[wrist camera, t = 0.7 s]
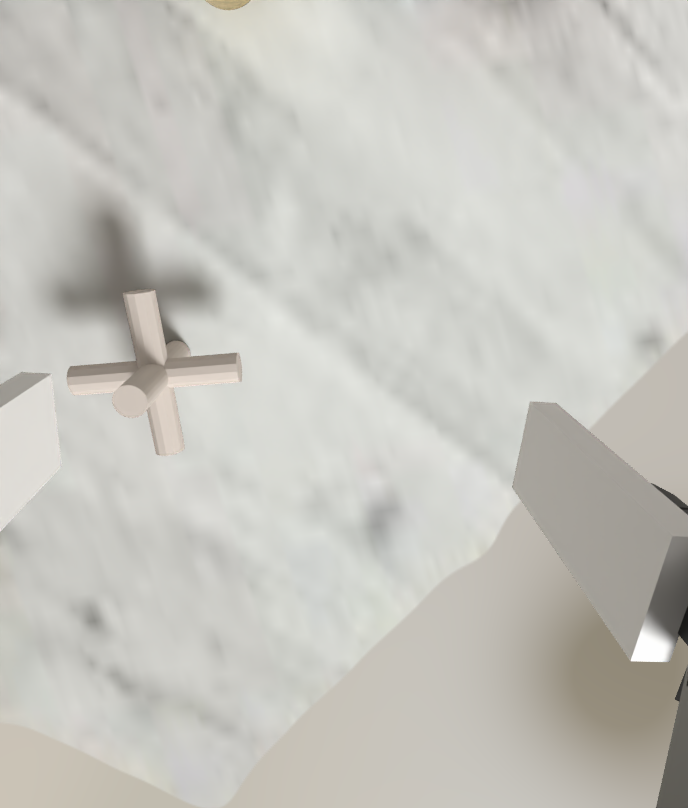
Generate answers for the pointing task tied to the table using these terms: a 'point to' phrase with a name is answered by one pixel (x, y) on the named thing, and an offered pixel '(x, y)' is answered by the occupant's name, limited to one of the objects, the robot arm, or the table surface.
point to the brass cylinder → (227, 4)
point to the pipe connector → (153, 373)
